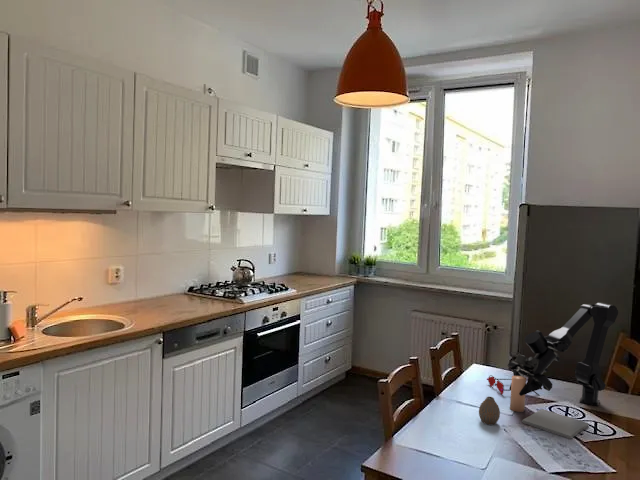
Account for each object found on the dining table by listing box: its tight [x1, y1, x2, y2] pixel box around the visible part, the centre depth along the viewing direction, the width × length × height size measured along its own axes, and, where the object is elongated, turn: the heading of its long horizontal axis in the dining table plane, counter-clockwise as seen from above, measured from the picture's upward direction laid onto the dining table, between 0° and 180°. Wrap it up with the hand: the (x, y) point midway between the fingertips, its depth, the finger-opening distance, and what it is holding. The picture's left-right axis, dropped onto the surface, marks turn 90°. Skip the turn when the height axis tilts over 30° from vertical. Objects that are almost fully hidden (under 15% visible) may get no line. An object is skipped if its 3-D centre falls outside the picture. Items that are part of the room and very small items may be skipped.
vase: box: [478, 396, 501, 426], centre depth 177 cm, size 7×7×9 cm
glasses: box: [486, 374, 540, 396], centre depth 212 cm, size 14×16×5 cm
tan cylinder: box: [509, 375, 527, 413], centre depth 189 cm, size 5×5×12 cm
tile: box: [521, 408, 589, 440], centre depth 177 cm, size 16×16×1 cm
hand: (515, 392), depth 189 cm, fingers closed on tan cylinder, 5 cm apart
